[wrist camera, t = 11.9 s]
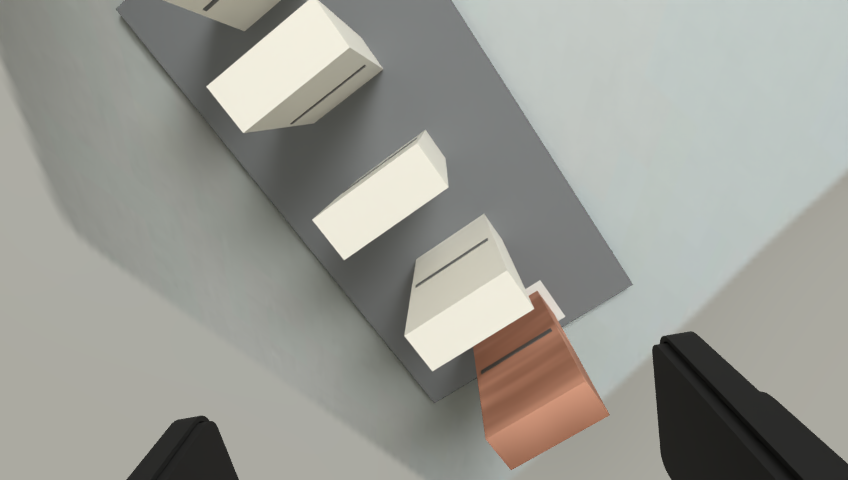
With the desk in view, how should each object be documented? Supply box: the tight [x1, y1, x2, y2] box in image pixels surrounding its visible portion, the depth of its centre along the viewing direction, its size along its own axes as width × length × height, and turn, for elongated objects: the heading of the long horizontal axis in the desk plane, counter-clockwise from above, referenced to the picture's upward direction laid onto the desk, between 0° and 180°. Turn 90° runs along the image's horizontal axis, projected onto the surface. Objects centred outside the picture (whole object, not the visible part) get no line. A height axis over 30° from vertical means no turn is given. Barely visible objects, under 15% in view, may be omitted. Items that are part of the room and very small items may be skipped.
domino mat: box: [116, 0, 633, 403], centre depth 27 cm, size 30×15×1 cm, turn 36°
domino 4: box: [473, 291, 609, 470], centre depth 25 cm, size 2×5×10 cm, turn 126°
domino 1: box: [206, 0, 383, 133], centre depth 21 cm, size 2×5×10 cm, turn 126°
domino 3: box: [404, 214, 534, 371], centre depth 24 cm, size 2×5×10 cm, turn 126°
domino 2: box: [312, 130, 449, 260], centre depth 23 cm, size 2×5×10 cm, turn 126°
